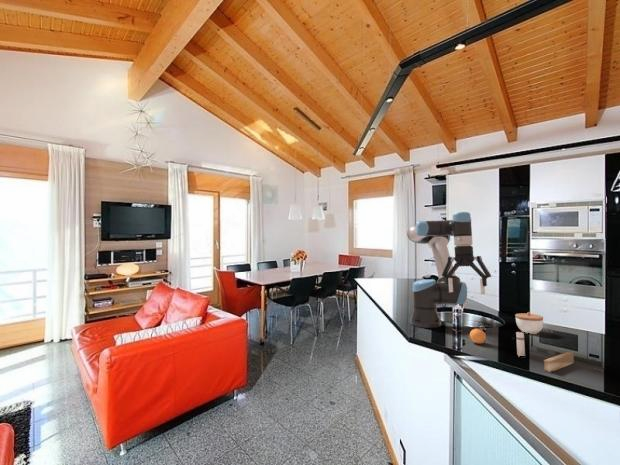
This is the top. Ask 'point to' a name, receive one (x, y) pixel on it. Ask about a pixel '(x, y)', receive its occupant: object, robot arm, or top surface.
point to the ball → (477, 336)
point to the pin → (520, 344)
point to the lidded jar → (529, 322)
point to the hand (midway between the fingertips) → (466, 293)
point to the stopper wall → (558, 361)
